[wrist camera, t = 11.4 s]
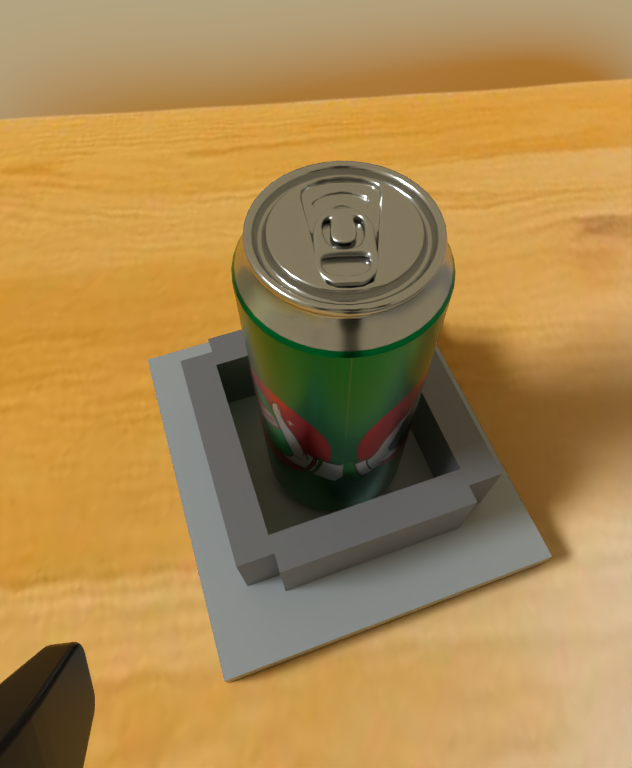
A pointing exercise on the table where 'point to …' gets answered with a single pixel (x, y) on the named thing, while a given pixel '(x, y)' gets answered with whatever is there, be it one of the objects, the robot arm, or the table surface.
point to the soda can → (340, 322)
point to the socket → (330, 516)
